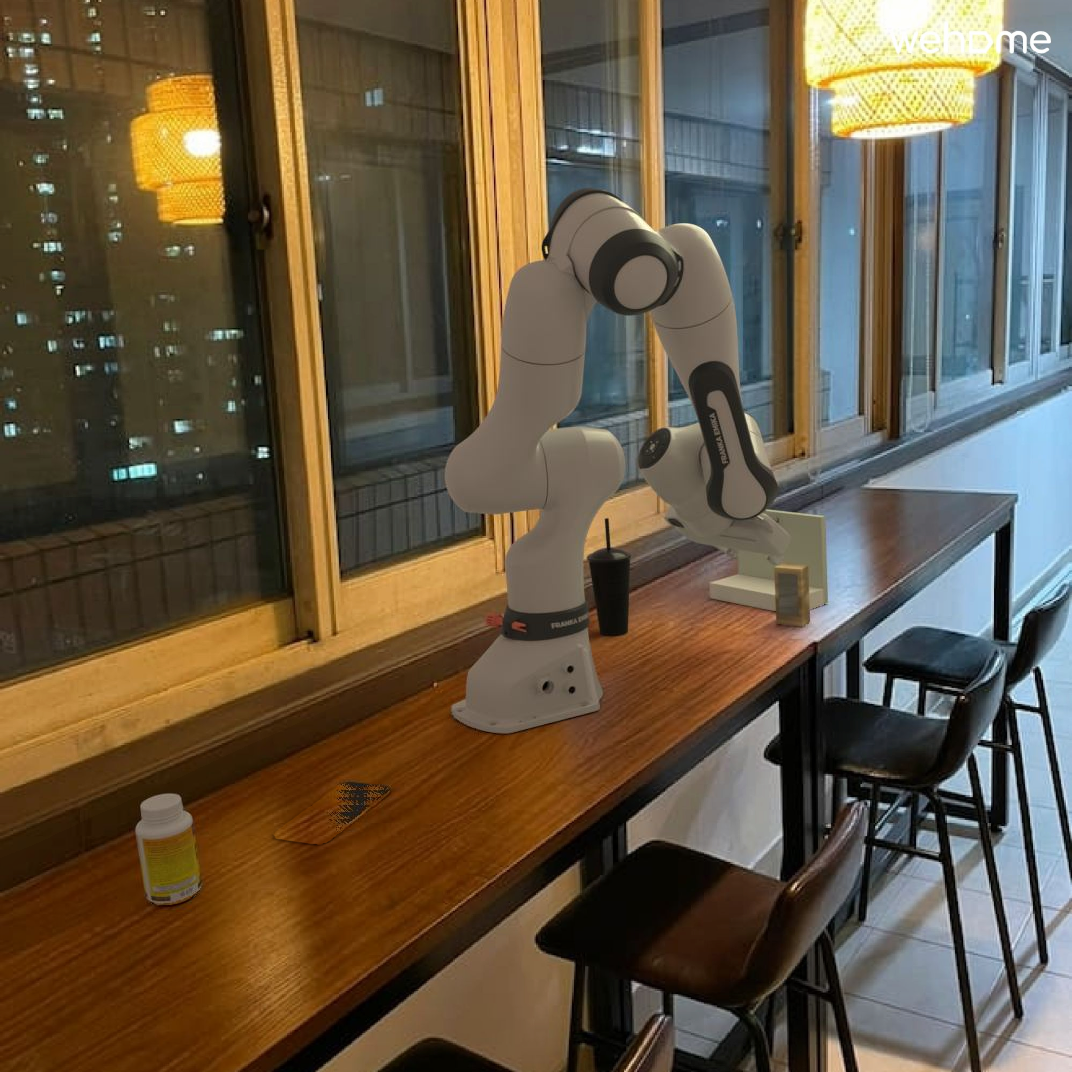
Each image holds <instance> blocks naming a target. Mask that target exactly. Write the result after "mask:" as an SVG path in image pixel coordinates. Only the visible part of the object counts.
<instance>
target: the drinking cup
mask: <svg viewBox="0 0 1072 1072" xmlns="http://www.w3.org/2000/svg"><path fill="white" fill-rule="evenodd" d="M604 526H605V527H604V528H605V530H604V531H605V542H606V543H605V545H606V547H603V548H599V549H596V550H595V551H593V552H591V553H589V554H588V555H587V556H586V560H587V562H588V565H589V571H590V576H591V577H590V578H591V583H592V584H591V586H592V589H593V590H592V591H593V595H594V596H593V597H594V602H595V610H596V614H597V616H596V617H597V621H598V627H599V628H598V629H599V634H600V635H603V636H606V637H616V636H623V635H625V634H627V633H628V631H629V611H630V609H629V607H630V605H629V604H630V580H631V579H630V578H631V575H630V574H631V558H632V552H630V551H627V550H625V549H623V548H619V547H613V546H611V534H610V532H611V531H610V519H609V517H605V518H604Z"/></svg>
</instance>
